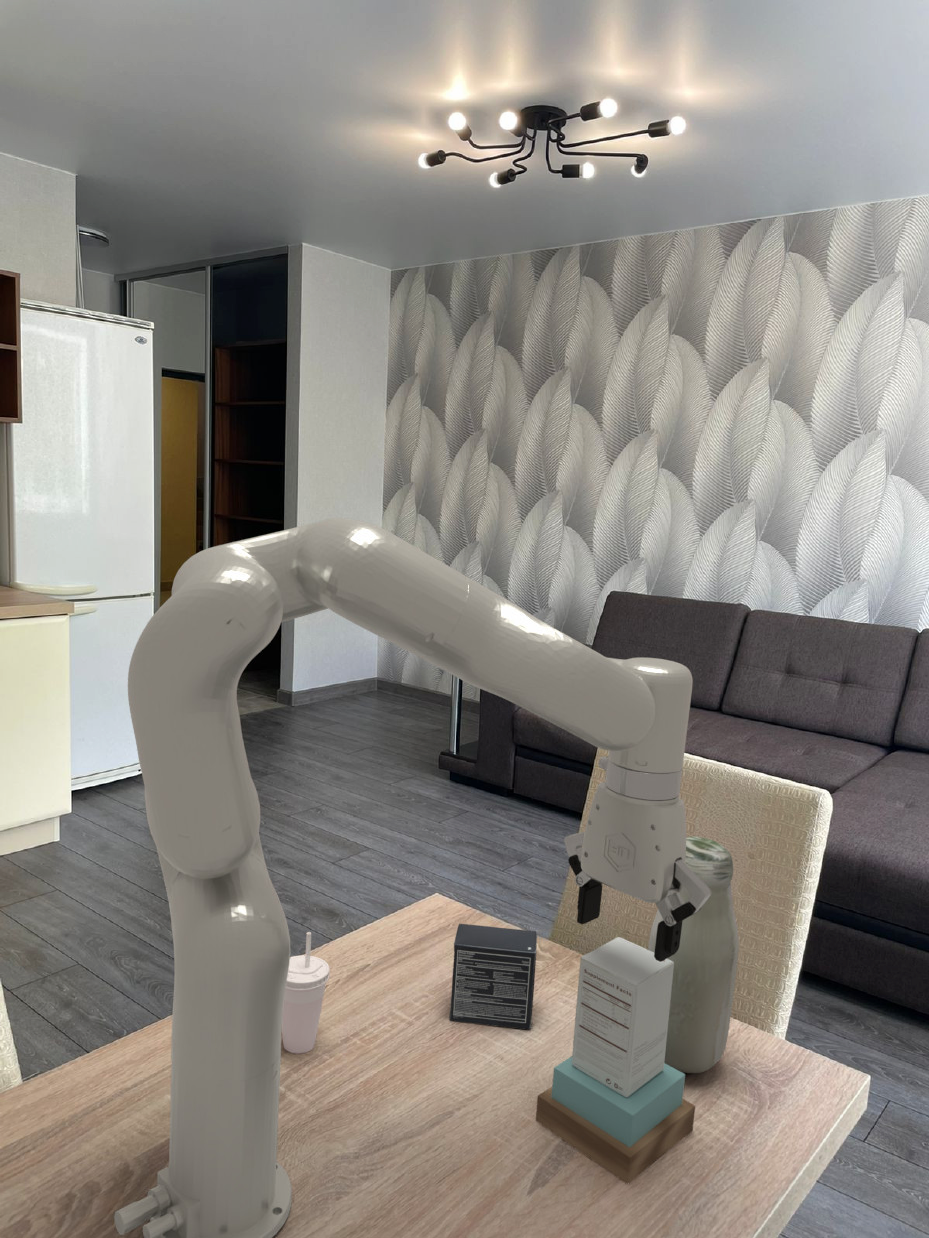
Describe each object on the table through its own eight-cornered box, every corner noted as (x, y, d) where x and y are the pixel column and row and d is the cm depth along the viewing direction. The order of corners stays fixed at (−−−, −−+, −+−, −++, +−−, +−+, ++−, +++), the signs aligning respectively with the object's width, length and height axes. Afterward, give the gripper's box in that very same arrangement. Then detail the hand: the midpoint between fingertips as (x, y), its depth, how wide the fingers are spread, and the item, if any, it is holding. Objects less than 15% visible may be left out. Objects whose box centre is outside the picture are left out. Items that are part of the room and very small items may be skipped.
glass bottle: (734, 1057, 114) (759, 840, 110) (706, 1100, 105) (733, 866, 101) (658, 1027, 119) (679, 819, 115) (625, 1066, 110) (648, 842, 106)
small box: (532, 1003, 123) (539, 928, 121) (531, 1031, 116) (538, 953, 115) (453, 994, 124) (458, 920, 122) (447, 1021, 117) (453, 943, 116)
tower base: (626, 1189, 92) (630, 1157, 91) (535, 1124, 100) (537, 1095, 99) (691, 1135, 100) (695, 1105, 100) (602, 1080, 108) (605, 1052, 108)
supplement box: (609, 1039, 105) (619, 934, 103) (665, 1071, 99) (677, 960, 98) (568, 1065, 99) (578, 954, 98) (625, 1100, 94) (637, 984, 92)
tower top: (629, 1147, 92) (633, 1115, 92) (551, 1097, 99) (554, 1067, 99) (681, 1104, 100) (685, 1074, 99) (605, 1060, 106) (608, 1032, 106)
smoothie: (331, 1055, 109) (337, 943, 107) (277, 1064, 106) (281, 950, 104) (319, 1024, 115) (324, 918, 113) (267, 1032, 112) (271, 924, 110)
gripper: (553, 763, 98) (538, 916, 100) (699, 812, 86) (678, 984, 88) (596, 753, 103) (581, 898, 105) (738, 797, 91) (717, 960, 93)
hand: (625, 937), depth 97 cm, fingers open, 9 cm apart
